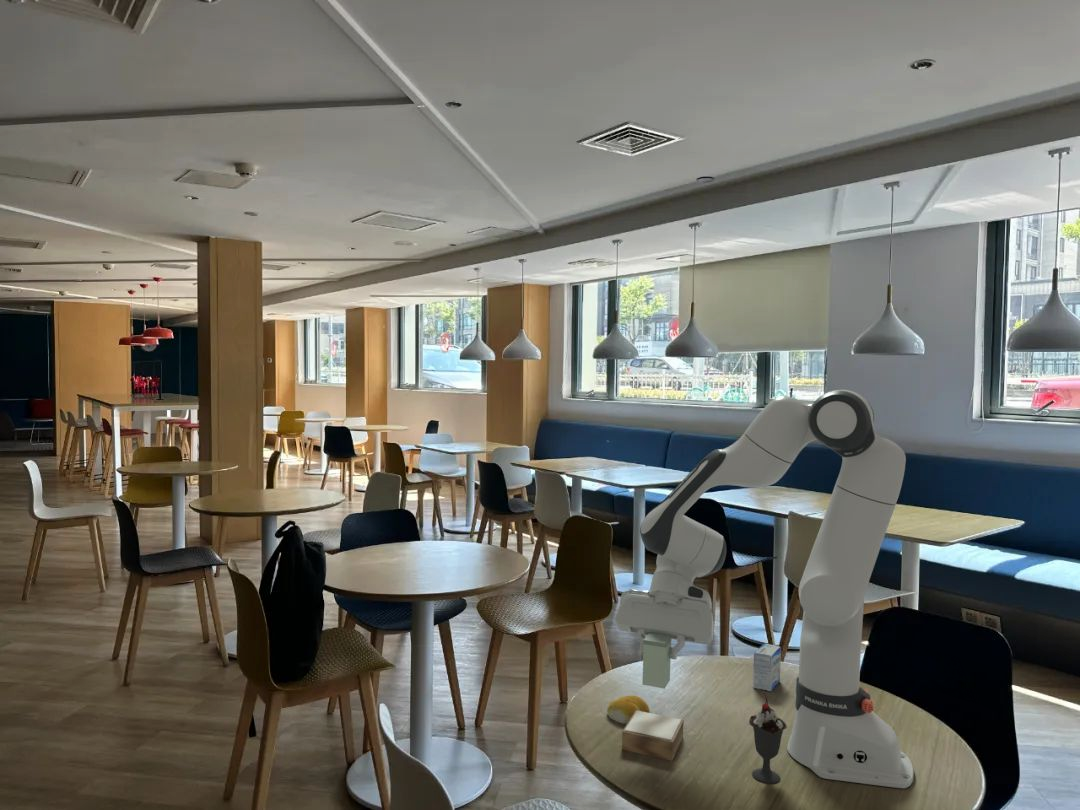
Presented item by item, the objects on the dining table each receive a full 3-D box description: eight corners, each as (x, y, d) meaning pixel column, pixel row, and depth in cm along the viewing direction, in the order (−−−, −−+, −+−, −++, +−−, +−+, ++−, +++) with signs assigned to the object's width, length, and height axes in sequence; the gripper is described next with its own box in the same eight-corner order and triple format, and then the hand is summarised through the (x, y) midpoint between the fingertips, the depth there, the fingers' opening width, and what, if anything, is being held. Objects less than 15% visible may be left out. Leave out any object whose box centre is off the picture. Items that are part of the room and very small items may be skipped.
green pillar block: (670, 680, 149) (671, 636, 148) (664, 688, 144) (666, 643, 144) (648, 676, 150) (649, 632, 150) (642, 684, 146) (643, 639, 146)
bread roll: (655, 715, 159) (656, 697, 159) (631, 729, 153) (631, 710, 152) (625, 703, 165) (625, 685, 165) (600, 716, 158) (600, 697, 158)
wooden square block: (682, 739, 149) (683, 719, 149) (672, 762, 140) (672, 741, 140) (635, 729, 153) (635, 709, 153) (621, 751, 144) (622, 730, 144)
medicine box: (771, 692, 172) (772, 656, 172) (752, 687, 174) (753, 652, 174) (780, 681, 179) (781, 646, 178) (761, 677, 181) (763, 642, 181)
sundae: (758, 762, 140) (761, 685, 139) (791, 777, 135) (794, 697, 135) (740, 775, 136) (742, 695, 135) (772, 790, 131) (776, 708, 130)
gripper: (620, 580, 158) (605, 639, 149) (716, 593, 150) (706, 656, 141) (625, 595, 162) (611, 653, 154) (719, 608, 154) (709, 671, 146)
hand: (657, 655), depth 148 cm, fingers closed on green pillar block, 4 cm apart
